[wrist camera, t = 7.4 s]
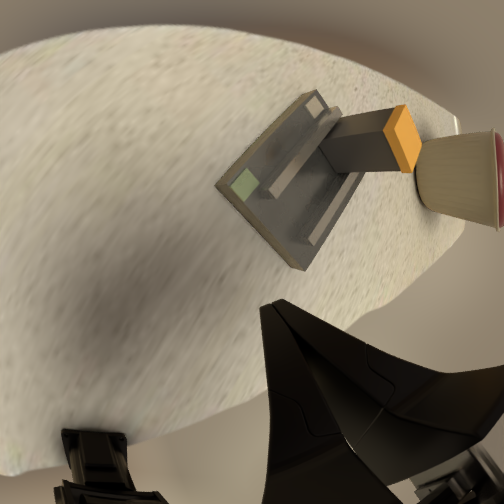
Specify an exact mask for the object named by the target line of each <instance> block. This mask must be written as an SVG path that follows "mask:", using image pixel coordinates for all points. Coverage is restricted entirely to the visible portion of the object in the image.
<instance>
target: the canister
mask: <svg viewBox="0 0 504 504" xmlns="http://www.w3.org/2000/svg"><path fill="white" fill-rule="evenodd" d="M416 179H417V185H418V191H419V194H420V197H421V200H422V201H423V203H424V204H425V206H426V207H427V208H429V209H430V210H432V211H435V212H438V213H441V214H445V215H449V216H452V217H456V218H460V219H464V220H468V221H472V222H476V223H479V224H482V225H486V226H490V227H494V228H496V231H497V232H500V228H501V227H503V226H504V143H503V140H502V138H501V136H500V135H499V134H498V133H496V130H495V128H494V127H493V128H492V129H491V131H487V132H476V133H469V134H461V135H454V136H448V137H442V138H437V139H432V140H429V141H426V142H425V143H423V144H422V147H421V150H420V153H419V156H418V158H417V161H416Z"/></svg>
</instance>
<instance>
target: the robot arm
mask: <svg viewBox="0 0 504 504" xmlns="http://www.w3.org/2000/svg"><path fill="white" fill-rule="evenodd" d="M259 311H260V320H261V330H262V339H263V349H264V358H265V368H266V377H267V387H268V397H269V410H270V434H269V449H268V462H267V474H266V482H265V489H264V494H263V499H262V504H403V503H402V502H401V501H400V500H399V499H398V498H397V497H396V496H395V495H394V494H393V493H392V492H391V491H390V490H389V488H388V487H387V486H389V485H392V484H395V483H397V482H400V481H403V480H405V479H408V478H409V479H410V480H411V482H412V483H413V485H414V486H415V488H416V489H417V490H416V491H414V492H415V494H416V495H417V497H418V498H419V500H420V502H419V503H417V504H504V365H501V366H497V367H491V368H485V369H479V370H472V371H465V372H457V373H444V372H438V371H434V370H431V369H428V368H425V367H423V366H420V365H417V364H414V363H411V362H408V361H406V360H403V359H400V358H397V357H395V356H393V355H390V354H388V353H386V352H384V351H381V350H379V349H377V348H375V347H373V346H371V345H369V344H366V343H365V342H363V341H361V340H359V339H357V338H355V337H354V336H352V335H349V334H348V333H346V332H344V331H342V330H340V329H338V328H336V327H335V326H333V325H331V324H329V323H327V322H325V321H323V320H321V319H319V318H318V317H316V316H314V315H312V314H310V313H308V312H306V311H304V310H303V309H301V308H299V307H297V306H295V305H293V304H292V303H290V302H288V301H286V300H284V299H280V300H277V301H274V302H272V303H271V304H266V305H264V306H261V307H260V308H259ZM66 434H67V435H66ZM61 436H62V441H63V445H64V449H65V453H66V457H67V460H68V464H69V467H70V469H71V470H72V476H73V482H74V483H72V482H69V481H67V480H62V486H59V487H54V496H55V502H56V504H169V503H168V502H167V501H166V500H165V499H164V498H163V496H162V495H161V494H160V493H159V492H158V491H153V492H138V491H136V488H135V486H134V483H133V481H132V478H131V476H130V473H129V470H128V467H127V439H126V436H125V435H124V434H122V433H99V432H85V431H75V430H66V429H63V430H62V431H61ZM345 438H346V439H345ZM346 440H347V441H348V443H349V444H350V445H351V447H352V448H353V450H354V451H355V452H354V451H353V450H352V449H351V447H350V446H349V444H348V443H347V441H346ZM471 490H472V491H471ZM470 491H471V492H470Z"/></svg>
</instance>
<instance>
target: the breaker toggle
mask: <svg viewBox="0 0 504 504" xmlns="http://www.w3.org/2000/svg"><path fill="white" fill-rule="evenodd" d="M318 146H319V147H320V149H321V150H322V152H323V153H324V155H325V156H326V158H327V159H328V161H329V163H330V164H331V166H332V167H333V169H334V170H335V172H336V173H353V172H382V171H401V172H402V173H412V172H413V169H414V167H415V164H416V161H417V158H418V156H419V153H420V150H421V147H422V143H421V140H420V137H419V135H418V132H417V130H416V127H415V125H414V122H413V120H412V117H411V115H410V113H409V110H408V108H407V106H406V104H405V105H398V106H396V107H395V108H389V109H383V110H377V111H371V112H366V113H361V114H356V115H351V116H346V117H341V118H339V120H338V121H337V122H336V123H335V125H334V126H333V127H332V129H331V130H330V131H329V132H328V134H327V135H326V136H325V137H324V139H323V140H322V141H321V143H320V144H319V145H318Z"/></svg>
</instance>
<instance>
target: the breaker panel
mask: <svg viewBox="0 0 504 504" xmlns="http://www.w3.org/2000/svg"><path fill="white" fill-rule="evenodd" d="M342 115H343V114H342V112H341V111H340V109H339V107H338V106H336V107H332V108H329V107H328V106H327V104H326V103H325V101H324V100H323V98H322V97H321V95H320V94H319V92H318V91H317V89H316V90H313V91H310V92H307V93H305V94H302V95H301V96H300V97H299V98H298V99H297V100H296V101H295V102H294V103H293V104H292V105H291V106H290V107H289V108H288V109H287V110H286V111H285V112H284V113H283V114H282V115H281V116H280V117H279V118H278V119H277V120H276V121H274V122H273V123H272V125H271V126H270V127H269V128H268V129H267V130H266V131H265V132H264V133H263V134H262V135H261V136H260V137H259V138H258V139H257V140H256V141H255V142H254V143H253V144H252V145H251V146H250V147H249V148H248V149H247V150H246V151H245V152H244V154H243V155H242V156H241V157H240V158H239V159H238V160H237V161H236V162H235V163H234V164H233V165H232V166H231V168H230V169H229V170H228V171H227V172H226V173H225V174H224V175H223V176H222V178H221V179H220V180H219V181H218V182H217V183H216V184H215V185H214V186H215V187H216V188H217V189H218V190H219V191H220V192H221V193H222V194H223V195H224V196H225V197H226V198H227V199H228V200H229V201H230V202H231V203H232V204H233V206H234V207H235V208H236V209H237V210H238V211H239V212H240V213H241V214H242V215H243V216H244V217H245V218H246V219H247V220H248V221H249V223H250V224H251V225H252V226H253V227H254V228H255V229H256V230H257V231H258V232H259V233H260V234H261V235H262V236H263V238H264V239H265V240H266V241H267V242H268V243H269V244H270V245H271V246H272V247H273V248H274V249H275V250H276V252H277V253H278V254H279V255H280V256H281V257H282V258H283V259H284V260H285V261H286V262H287V263H288V265H289V266H290V267H292V268H295V269H298V270H302V271H306V270H307V268H308V267H309V265H310V263H311V262H312V260H313V259H314V257H315V256H316V254H317V253H318V251H319V249H320V248H321V246H322V245H323V243H324V242H325V240H326V238H327V237H328V235H329V233H330V232H331V230H332V229H333V227H334V225H335V224H336V222H337V220H338V219H339V217H340V215H341V214H342V212H343V210H344V209H345V207H346V205H347V204H348V202H349V200H350V199H351V197H352V195H353V194H354V192H355V190H356V188H357V187H358V185H359V183H360V181H361V180H362V178H363V176H364V174H365V173H366V172H353V173H336V172H335V170H334V169H333V167H332V166H331V164H330V163H329V161H328V159H327V158H326V156H325V155H324V153H323V152H322V150H321V149H320V147H319V146H318V145H319V144H320V143H321V141H322V140H323V139H324V137H325V136H326V135H327V134H328V132H329V131H330V130H331V129H332V127H333V126H334V125H335V123H336V122H337V121H338V120H339V118H340V117H341V116H342Z"/></svg>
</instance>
